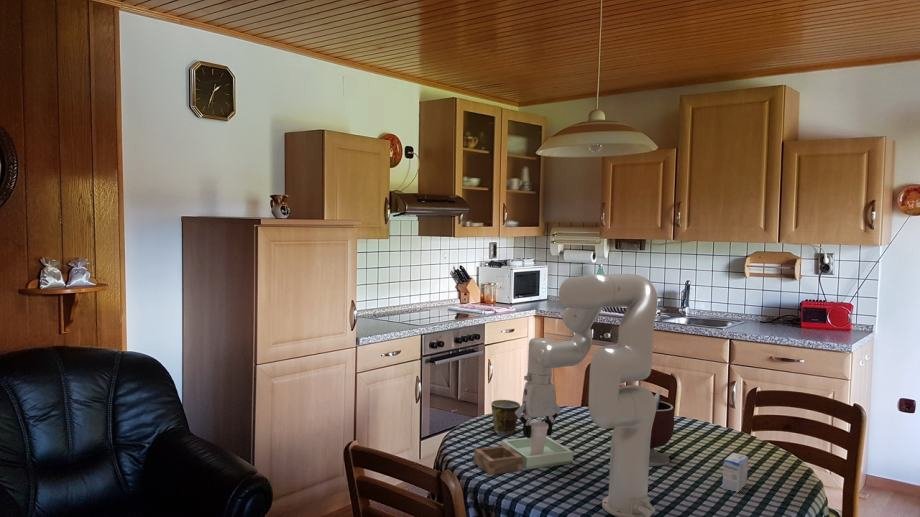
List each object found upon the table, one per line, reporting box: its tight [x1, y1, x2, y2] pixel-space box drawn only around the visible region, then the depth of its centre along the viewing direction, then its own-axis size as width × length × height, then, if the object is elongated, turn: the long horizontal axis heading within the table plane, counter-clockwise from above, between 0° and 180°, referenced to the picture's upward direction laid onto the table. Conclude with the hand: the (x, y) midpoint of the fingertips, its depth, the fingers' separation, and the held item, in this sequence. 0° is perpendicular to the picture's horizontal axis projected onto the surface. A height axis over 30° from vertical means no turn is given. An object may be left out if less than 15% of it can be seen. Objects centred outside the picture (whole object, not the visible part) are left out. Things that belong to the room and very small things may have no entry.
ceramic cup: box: [490, 399, 521, 436], centre depth 222 cm, size 13×10×10 cm
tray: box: [501, 435, 574, 470], centre depth 200 cm, size 16×16×4 cm
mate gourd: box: [649, 389, 675, 467], centre depth 202 cm, size 16×14×20 cm
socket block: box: [473, 445, 523, 476], centre depth 191 cm, size 11×11×4 cm
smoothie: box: [529, 417, 549, 456], centre depth 199 cm, size 6×6×14 cm
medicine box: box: [721, 452, 749, 493], centre depth 180 cm, size 8×4×9 cm, turn 141°
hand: (537, 435), depth 199 cm, fingers open, 6 cm apart
